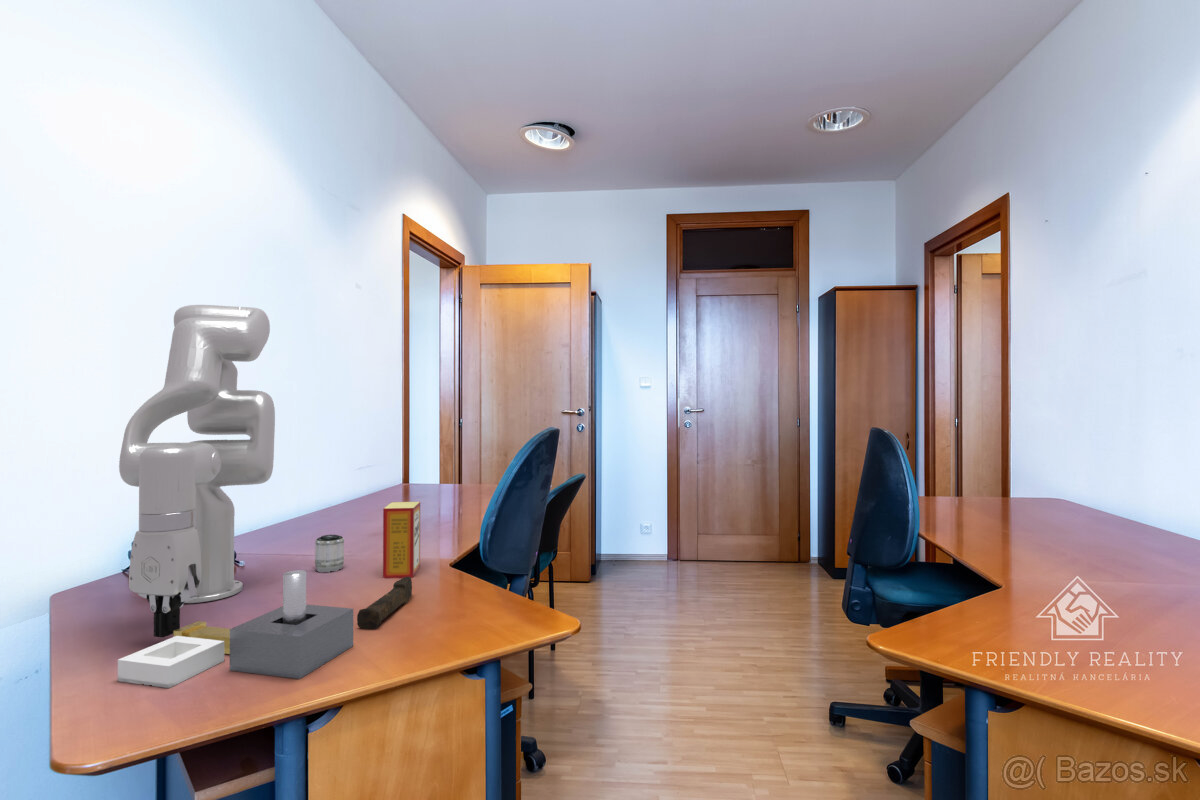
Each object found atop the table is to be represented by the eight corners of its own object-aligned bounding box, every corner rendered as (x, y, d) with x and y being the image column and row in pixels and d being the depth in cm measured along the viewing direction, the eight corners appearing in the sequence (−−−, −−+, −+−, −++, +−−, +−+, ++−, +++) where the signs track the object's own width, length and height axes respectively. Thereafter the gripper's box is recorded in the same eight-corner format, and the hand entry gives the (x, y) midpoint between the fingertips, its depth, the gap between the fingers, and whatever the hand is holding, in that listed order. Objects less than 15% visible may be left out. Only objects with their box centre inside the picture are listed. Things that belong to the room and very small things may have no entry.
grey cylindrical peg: (277, 660, 91) (278, 575, 91) (293, 652, 94) (293, 569, 94) (295, 663, 90) (296, 576, 90) (310, 654, 93) (311, 570, 93)
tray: (117, 681, 84) (117, 659, 84) (176, 655, 93) (176, 635, 93) (168, 688, 82) (169, 666, 82) (224, 660, 91) (224, 641, 91)
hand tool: (377, 632, 103) (378, 605, 103) (355, 630, 103) (356, 604, 103) (423, 597, 122) (424, 574, 122) (405, 596, 122) (405, 573, 122)
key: (173, 649, 94) (173, 630, 94) (198, 639, 99) (198, 621, 99) (239, 657, 91) (239, 638, 91) (262, 646, 96) (262, 627, 96)
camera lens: (326, 574, 137) (326, 540, 137) (309, 570, 140) (309, 537, 140) (349, 568, 142) (349, 535, 142) (332, 564, 145) (332, 532, 145)
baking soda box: (392, 567, 143) (392, 500, 143) (420, 566, 144) (420, 499, 144) (383, 578, 134) (383, 507, 134) (413, 577, 135) (413, 506, 135)
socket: (229, 670, 87) (229, 629, 87) (290, 639, 99) (290, 602, 99) (299, 679, 84) (299, 636, 85) (353, 645, 96) (353, 608, 96)
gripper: (108, 524, 96) (107, 638, 96) (183, 528, 92) (182, 647, 92) (153, 515, 103) (152, 622, 103) (224, 519, 99) (223, 630, 99)
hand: (166, 634), depth 97 cm, fingers closed
